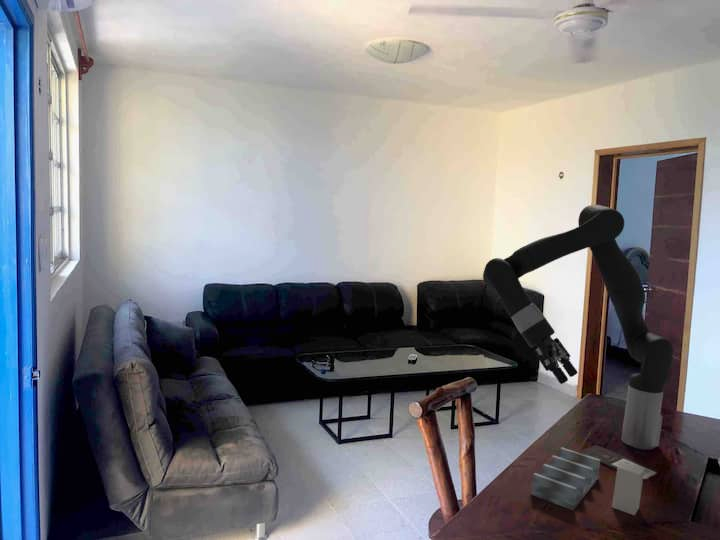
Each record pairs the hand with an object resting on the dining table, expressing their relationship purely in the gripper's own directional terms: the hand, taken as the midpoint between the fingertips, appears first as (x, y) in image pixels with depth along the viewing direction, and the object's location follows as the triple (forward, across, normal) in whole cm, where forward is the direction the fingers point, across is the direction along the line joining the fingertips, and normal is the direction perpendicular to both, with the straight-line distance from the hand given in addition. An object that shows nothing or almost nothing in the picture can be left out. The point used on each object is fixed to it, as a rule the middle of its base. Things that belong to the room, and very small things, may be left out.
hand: (569, 378), depth 149 cm
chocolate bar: (+26, +17, +9) cm, 33 cm away
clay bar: (+31, -6, +5) cm, 32 cm away
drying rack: (+21, -6, +15) cm, 26 cm away
